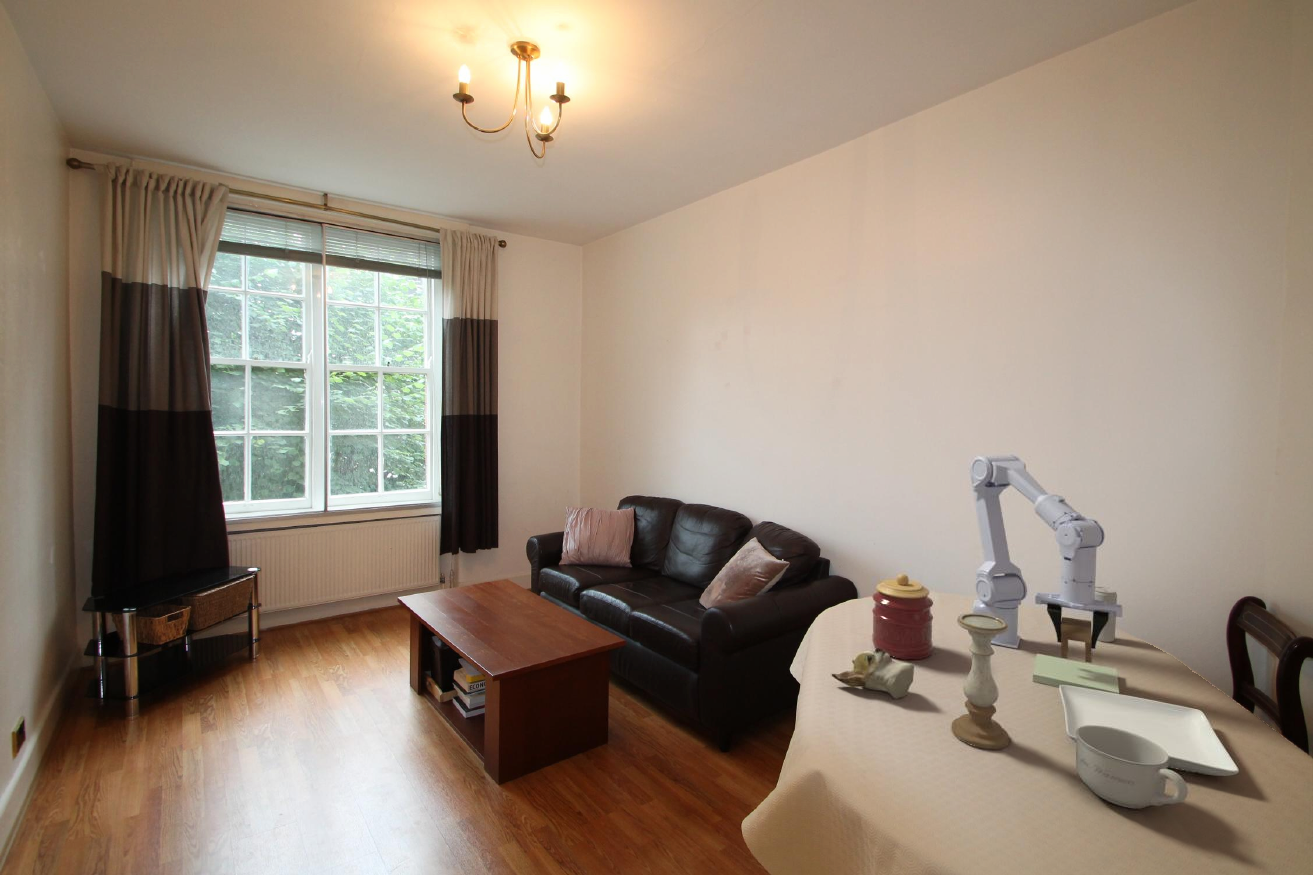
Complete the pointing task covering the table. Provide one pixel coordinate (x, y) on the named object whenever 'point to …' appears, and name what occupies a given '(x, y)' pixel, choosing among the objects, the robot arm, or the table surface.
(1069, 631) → the walnut stool
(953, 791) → the table surface
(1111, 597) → the beverage can
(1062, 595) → the robot arm
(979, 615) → the candle holder
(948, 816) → the table surface
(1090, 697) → the salad plate
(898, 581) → the canister
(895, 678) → the ceramic sculpture
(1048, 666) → the sage green board
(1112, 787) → the teacup
